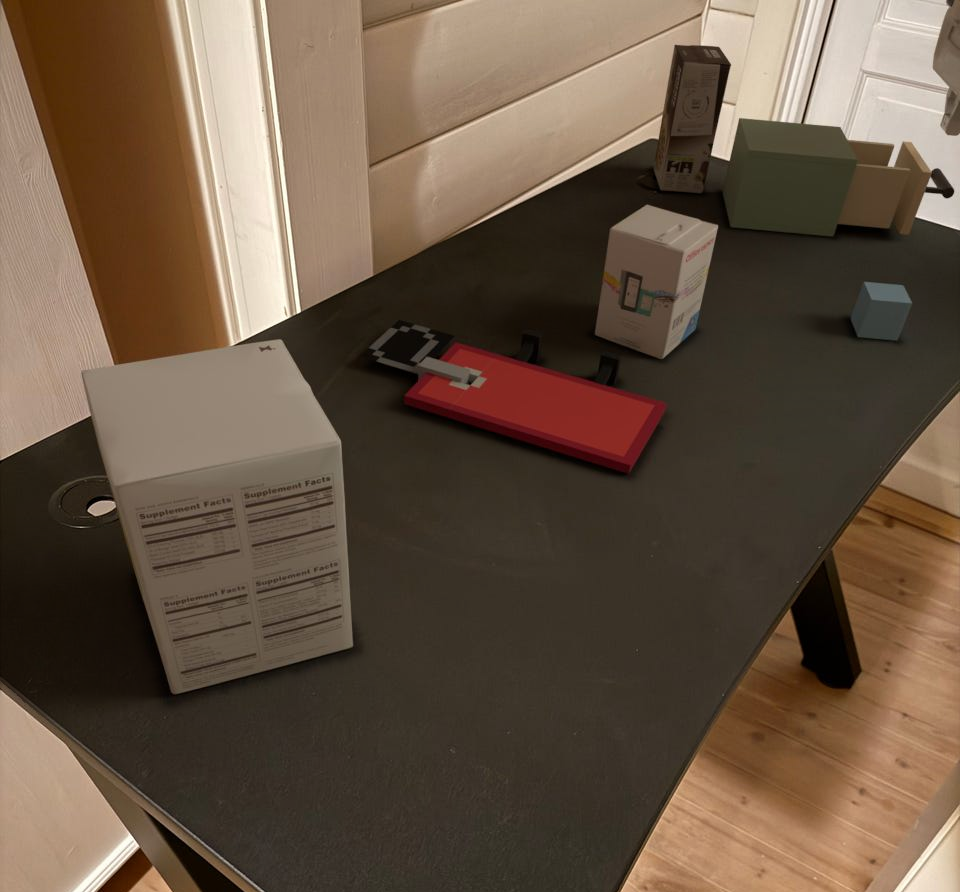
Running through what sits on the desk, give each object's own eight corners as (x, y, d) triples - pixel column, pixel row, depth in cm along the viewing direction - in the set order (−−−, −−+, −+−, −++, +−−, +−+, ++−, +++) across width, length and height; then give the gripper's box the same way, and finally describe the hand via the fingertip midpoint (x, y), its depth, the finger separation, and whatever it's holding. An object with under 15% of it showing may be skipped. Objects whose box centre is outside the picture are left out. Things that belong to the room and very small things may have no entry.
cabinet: (818, 200, 133) (840, 126, 126) (833, 236, 124) (858, 159, 117) (722, 191, 133) (739, 117, 126) (730, 227, 124) (749, 149, 117)
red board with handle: (407, 320, 101) (336, 386, 91) (407, 295, 99) (334, 361, 89) (674, 397, 93) (627, 478, 84) (680, 372, 91) (633, 452, 82)
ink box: (629, 307, 106) (647, 201, 98) (697, 330, 103) (722, 223, 95) (592, 335, 101) (608, 226, 93) (662, 360, 98) (685, 250, 90)
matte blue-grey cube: (888, 322, 107) (903, 285, 104) (897, 340, 104) (912, 303, 101) (850, 318, 107) (863, 281, 104) (857, 337, 104) (871, 299, 101)
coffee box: (704, 194, 132) (732, 64, 120) (659, 191, 132) (682, 60, 120) (695, 170, 138) (721, 45, 127) (652, 168, 138) (674, 41, 127)
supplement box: (135, 575, 71) (76, 366, 58) (304, 537, 75) (283, 334, 63) (170, 699, 63) (110, 487, 50) (358, 648, 67) (345, 440, 54)
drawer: (922, 204, 131) (945, 145, 125) (943, 238, 123) (968, 175, 118) (800, 193, 132) (818, 133, 126) (813, 226, 124) (832, 163, 118)
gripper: (1053, 26, 102) (998, 162, 112) (997, -14, 116) (953, 109, 126) (994, 22, 102) (944, 158, 112) (946, -17, 117) (906, 106, 126)
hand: (949, 132), depth 119 cm, fingers closed
